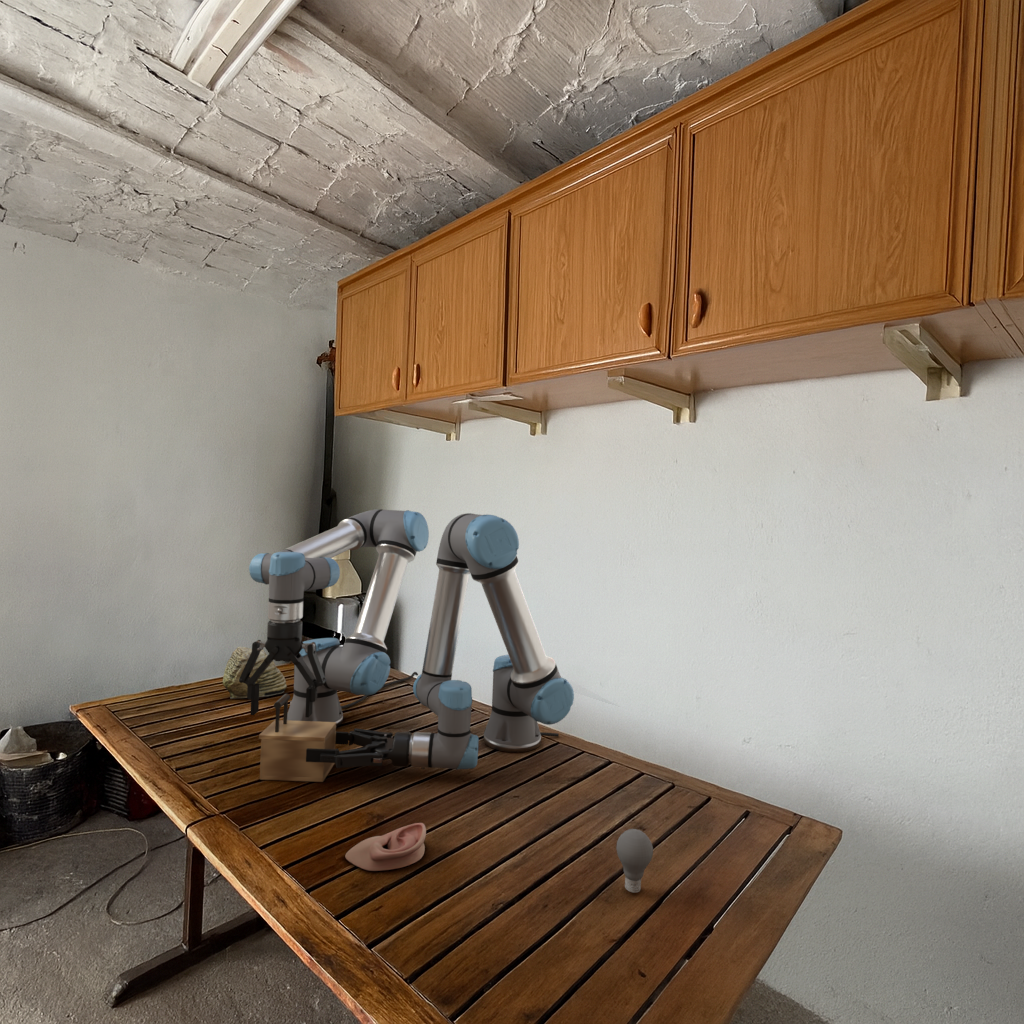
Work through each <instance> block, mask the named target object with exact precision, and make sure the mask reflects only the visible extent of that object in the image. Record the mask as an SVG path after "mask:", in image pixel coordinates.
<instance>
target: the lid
mask: <svg viewBox="0 0 1024 1024" xmlns="http://www.w3.org/2000/svg"><path fill="white" fill-rule="evenodd" d="M290 699H291V695H290V694H289V693H284V694H283V695H282V696H281V697H280V698H278V699H277V700H276V701H275V702H274V703H273V708H274V709H275V719H274V720H273V721H272V722H271V723H270V724H269V725H267V727H266V728H265V729H264V730H262V731H261V732H260V733H259V735H258V740H261V739H269V740H296V741H322V742H324V741H325V740H326V739H327V737H328V736H329V735H330V733H331V732H332V731H333V729H334V728H335V727H336V722H318V721H292V720H287V713H288V710H289V708H288V707H289V701H290ZM282 707H283V716H282V717H283V719H281V717H280V716H281V708H282ZM336 728H337V727H336Z"/></svg>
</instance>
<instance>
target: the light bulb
mask: <svg viewBox="0 0 1024 1024" xmlns="http://www.w3.org/2000/svg"><path fill="white" fill-rule="evenodd" d="M615 849H616V854H617V857H618V859H619V861H620V863H621V865H622V867H623V873H624V874H623V875H624V876H625V878H624V888H625V890H627V891H628V892H630V893H634V894H635V893H639V892H640V891H641V889H642V887H641V886H642V879H643V877H644V875H645V871H646V868H647V867H648V866H649V864H650V863H651V861H652V859H653V855H654V847H653V843H652V841H651V838H649V836H648V835H647V834H646V833H645V832H643V831H642V830H641V829H636V828H629V829H627V830H625V831H623V832H622V833H621V834H620V835H619V837H618V839H617V841H616V847H615Z"/></svg>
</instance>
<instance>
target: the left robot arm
mask: <svg viewBox="0 0 1024 1024" xmlns="http://www.w3.org/2000/svg"><path fill="white" fill-rule="evenodd" d="M429 536H430V531H429V526H428V522H427V520H426V518H425V516H424V515H423V514H422V513H421V512H419V511H414V510H413V511H411V510H408V509H407V510H400V509H399V510H397V509H383V508H381V509H380V508H375V509H369V510H366V511H363V512H360V513H357V514H354V515H352V516H349V517H346V518H343V519H342V520H341V521H340V522H339V523H338V524H337V526H335V527H333V528H330V529H328V530H325V531H323V532H321V533H319V534H317V535H314V536H312V537H310V538H307V539H305V540H303V541H300V542H297V543H296V544H293V545H291V546H289V547H287V548H284V549H282V550H280V551H279V550H278V551H277V552H274V553H269V552H265V553H258V554H255V556H253V557H252V558H251V560H250V562H249V567H248V569H249V570H248V571H249V576H250V578H251V579H252V580H253V581H254V582H256V583H259V584H263V585H268V604H267V605H268V606H267V619H269V620H268V622H267V626H266V627H267V628H266V629H267V630H266V641H263V640H261V639H257V640H255V641H253V642H252V643H251V649H252V652H251V654H250V657H249V659H248V661H247V663H246V665H245V668H244V670H243V672H242V674H241V676H240V679H239V682H240V683H245V684H247V698H246V699H247V700H250V716H255V715H256V714H257V713H259V710H260V709H259V705H260V697H259V683H256V684H255V682H257V680H258V679H259V677H260V676H261V675H262V673H263V672H264V671H265V670H266V668H267V667H268V666H269V665H270V663H271V662H272V661H275V662H285V663H289V662H291V663H292V664H293V665H294V668H293V695H292V696H293V697H292V699H291V701H290V700H289V701H290V702H289V706H288V707H289V708H288V712H287V720H292V721H318V722H336V728H337V727H339V726H340V725H342V723H343V722H344V714H343V710H344V709H347V708H350V707H353V706H355V705H357V704H359V703H361V702H363V701H364V700H365V699H367V698H368V697H370V696H372V695H375V694H376V693H378V692H379V691H380V690H382V689H383V688H386V687H389V686H391V685H394V684H397V683H402V682H405V681H409V680H411V679H413V677H414V676H419V673H418V672H417V671H413V672H412V673H411V675H410V676H407V677H403V678H400V679H395V680H393V681H390V682H387V680H388V678H389V676H390V672H391V659H390V656H389V655H388V654H387V651H388V647H387V645H386V643H385V639H386V636H387V633H388V629H389V626H390V622H391V619H392V616H393V612H394V610H395V606H396V603H397V600H398V596H399V593H400V589H401V588H402V587H401V586H402V583H403V580H404V577H405V573H406V570H407V567H408V564H409V563H411V562H413V561H414V560H415V559H416V555H417V553H418V552H419V553H420V552H423V551H424V550H425V549H426V548H427V546H428V544H429V538H430V537H429ZM361 548H375V550H376V552H377V553H378V557H377V560H376V563H375V566H374V569H373V573H372V576H371V577H370V578H371V579H370V581H369V585H368V588H367V591H366V594H365V597H364V600H363V603H362V605H361V610H360V613H359V615H358V618H357V621H356V625H355V627H354V631H353V633H352V634H350V635H348V636H347V637H346V638H345V640H344V643H343V645H342V646H341V645H340V644H341V643H340V640H339V638H336V637H321V638H313V639H307V640H304V641H303V621H302V620H301V619H303V617H304V593H305V592H309V591H315V590H325V589H327V588H330V587H333V586H334V585H336V584H337V583H338V581H339V579H340V575H341V569H340V566H339V563H338V562H337V560H335V559H334V558H335V557H337V556H339V555H341V554H343V553H345V552H346V551H356V550H359V549H361ZM264 648H265V649H266V651H267V653H268V654H267V655H268V656H267V657H266V658H265V660H264V661H263V663H262V664H261V665H260V666H259V668H258V669H257V670H256V672H255V673H254V674H253V675H252V677H249V676H250V674H251V671H252V669H253V667H254V665H255V663H256V660H257V658H258V656H259V654H260V651H261V650H264ZM386 682H387V683H386ZM338 691H340V692H344V693H350V694H354V695H356V696H361V695H362V697H361V698H359V699H356V700H355V701H353V702H350V703H348V704H344V705H341V702H340V699H339V695H338Z"/></svg>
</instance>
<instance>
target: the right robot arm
mask: <svg viewBox="0 0 1024 1024" xmlns="http://www.w3.org/2000/svg"><path fill="white" fill-rule="evenodd" d="M519 549H520V539H519V536H518V533H517V530H516V529H515V527H514V526H513V524H511V522H509V521H508V520H506V519H505V518H502V517H499V516H497V515H494V514H478V513H471V512H470V513H469V512H468V513H461V514H459V515H457V516H455V517H453V518H452V519H451V520H450V521H449V522H448V523H447V525H446V526H445V528H444V530H443V532H442V535H441V538H440V542H439V545H438V551H437V557H436V562H435V564H436V566H437V568H438V573H437V574H438V575H437V581H436V586H435V593H434V598H433V603H432V604H433V605H432V610H431V617H430V622H429V628H428V633H427V640H426V646H425V652H424V657H423V663H422V669H421V674H418V675H417V677H416V679H415V680H414V682H413V686H412V691H413V695H414V697H415V698H416V699H417V701H418V702H419V703H420V704H421V705H422V706H424V707H426V708H427V709H429V710H430V711H431V712H432V713H433V714H435V715H436V716H437V733H435V732H423V731H421V732H419V731H415V732H414V733H413V734H412V732H410V731H397V732H395V733H394V734H393V732H391V731H389V732H388V731H376V730H370V729H364V728H357V727H356V728H355V727H354V728H353V730H350V731H336V743H335V745H345V746H346V745H347V746H349V747H350V746H352V745H356V746H360V747H358V748H352V749H345V750H340V749H339V748H335V749H312V748H307V750H306V762H325V763H335V764H334V765H335V768H336V769H348V768H360V767H361V768H362V767H382V766H383V761H385V760H386V761H387V760H391V764H392V766H393V767H395V768H396V767H397V768H408V767H409V766H411V768H420V769H421V770H424V769H426V768H427V769H432V768H434V769H446V770H447V769H448V770H456V771H457V770H472V769H475V768H476V767H477V765H478V759H479V742H480V741H479V736H478V735H477V734H473V733H471V732H472V731H471V724H472V723H471V722H472V721H471V720H472V709H473V708H472V707H473V706H472V705H473V696H472V695H473V694H472V692H473V691H472V688H473V687H472V685H471V684H470V683H469V682H467V681H463V680H460V679H452V678H453V670H454V665H455V659H456V652H457V648H458V641H459V635H460V631H461V626H462V625H461V624H462V618H463V614H464V613H463V611H464V607H465V601H466V594H467V590H468V584H469V577H470V576H471V579H472V580H473V581H475V582H477V583H480V584H481V587H482V590H483V592H484V595H485V597H486V599H487V603H488V605H489V608H490V611H491V613H492V615H493V618H494V620H495V623H496V626H497V628H498V631H499V634H500V636H501V639H502V641H503V644H504V646H505V649H506V652H507V654H503V655H500V656H497V657H495V658H494V661H493V666H492V667H493V669H492V696H491V697H492V698H491V713H490V715H489V718H488V721H487V724H486V726H485V729H484V732H483V742H484V744H485V745H486V746H487V747H488V748H491V749H493V750H496V751H499V752H500V751H501V752H506V753H525V752H530V751H533V750H535V749H537V748H539V747H540V746H541V744H542V737H543V736H544V737H556V738H558V737H559V733H558V732H557V733H556V732H544V731H541V730H540V726H539V723H541V724H543V725H549V726H550V725H555V724H558V723H560V722H561V721H562V720H564V719H565V718H566V717H567V715H568V714H569V713H570V711H571V708H572V706H573V704H574V701H575V691H574V687H573V685H572V684H571V683H570V681H568V679H567V678H564V677H562V676H561V673H560V671H559V669H558V665H557V662H556V661H555V659H554V658H553V657H551V656H549V655H547V654H546V651H545V648H544V645H543V643H542V640H541V637H540V634H539V632H538V629H537V626H536V624H535V621H534V618H533V615H532V613H531V610H530V607H529V604H528V602H527V599H526V596H525V594H524V591H523V588H522V585H521V583H520V580H519V577H518V575H517V572H516V569H517V567H518V565H519V564H520V563H519V562H520V561H519V558H518V556H517V555H518V550H519ZM393 735H394V736H393Z"/></svg>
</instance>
